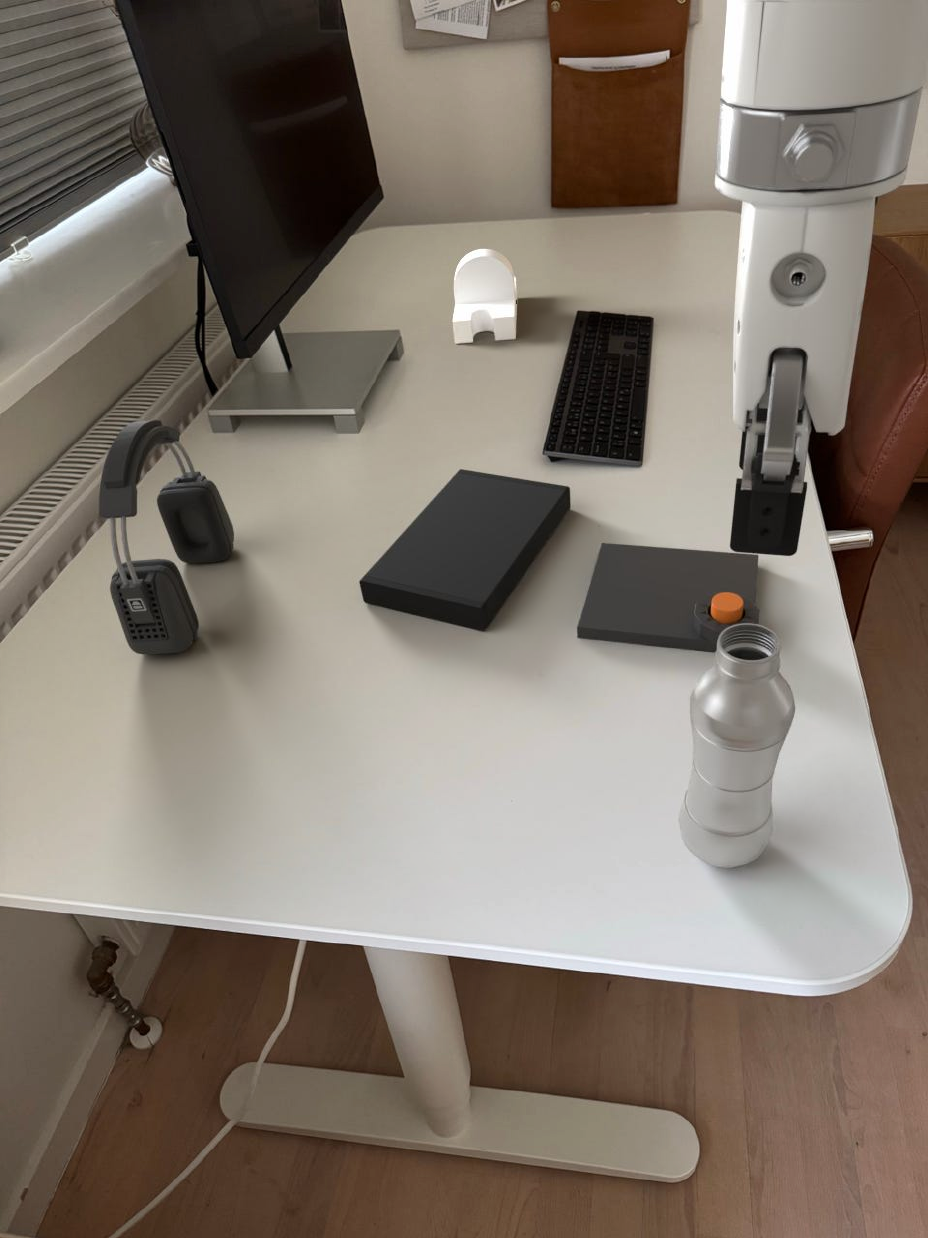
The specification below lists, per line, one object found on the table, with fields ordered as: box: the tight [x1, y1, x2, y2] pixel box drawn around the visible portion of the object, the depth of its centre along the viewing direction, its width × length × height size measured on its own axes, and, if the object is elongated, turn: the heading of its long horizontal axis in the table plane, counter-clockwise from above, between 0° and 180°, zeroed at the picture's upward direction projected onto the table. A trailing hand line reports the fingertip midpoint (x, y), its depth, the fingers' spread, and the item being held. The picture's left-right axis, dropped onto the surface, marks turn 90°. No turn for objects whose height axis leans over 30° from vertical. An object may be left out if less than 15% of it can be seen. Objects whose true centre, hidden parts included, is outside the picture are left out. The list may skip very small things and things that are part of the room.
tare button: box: [711, 592, 744, 624], centre depth 82 cm, size 3×3×2 cm
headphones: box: [98, 419, 235, 655], centre depth 92 cm, size 22×6×20 cm, turn 178°
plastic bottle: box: [677, 623, 796, 869], centre depth 60 cm, size 6×7×20 cm
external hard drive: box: [358, 468, 571, 632], centre depth 97 cm, size 14×23×3 cm, turn 154°
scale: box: [576, 542, 760, 653], centre depth 88 cm, size 16×14×3 cm
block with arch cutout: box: [452, 248, 518, 345], centre depth 146 cm, size 18×10×11 cm, turn 177°
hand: (765, 505), depth 48 cm, fingers open, 7 cm apart
